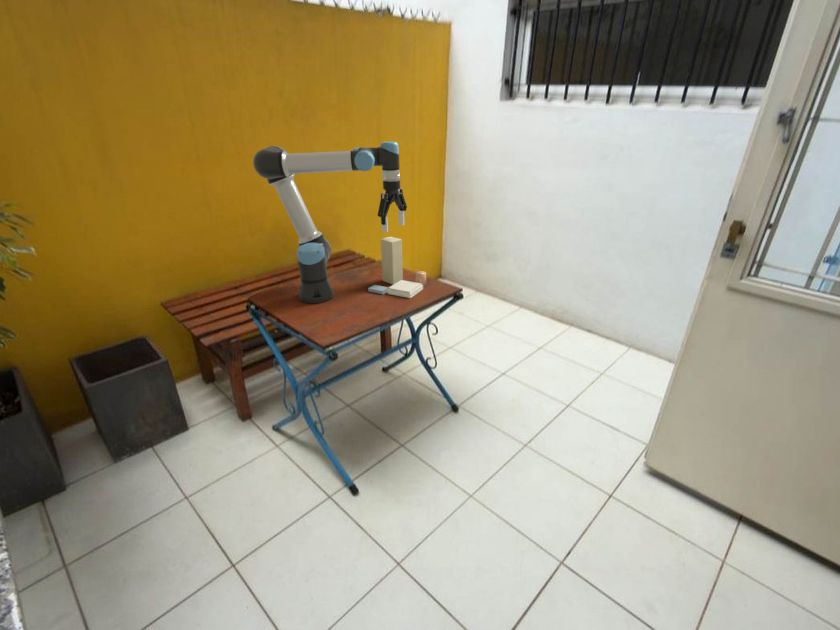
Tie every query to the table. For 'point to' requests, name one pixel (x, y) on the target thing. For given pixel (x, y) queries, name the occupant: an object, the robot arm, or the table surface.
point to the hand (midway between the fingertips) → (393, 228)
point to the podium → (405, 289)
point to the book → (378, 289)
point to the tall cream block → (391, 260)
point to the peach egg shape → (421, 277)
